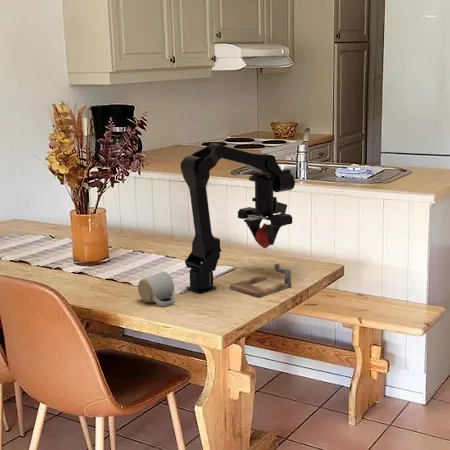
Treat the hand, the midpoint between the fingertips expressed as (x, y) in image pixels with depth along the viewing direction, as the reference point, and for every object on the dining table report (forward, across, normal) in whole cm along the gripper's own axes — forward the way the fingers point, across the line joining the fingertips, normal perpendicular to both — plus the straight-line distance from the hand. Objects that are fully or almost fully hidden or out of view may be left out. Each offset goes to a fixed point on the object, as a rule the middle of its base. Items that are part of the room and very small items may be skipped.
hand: (264, 243), depth 221 cm
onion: (+2, 0, 0) cm, 2 cm away
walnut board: (+10, -9, +11) cm, 17 cm away
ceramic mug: (+10, +4, +39) cm, 41 cm away
